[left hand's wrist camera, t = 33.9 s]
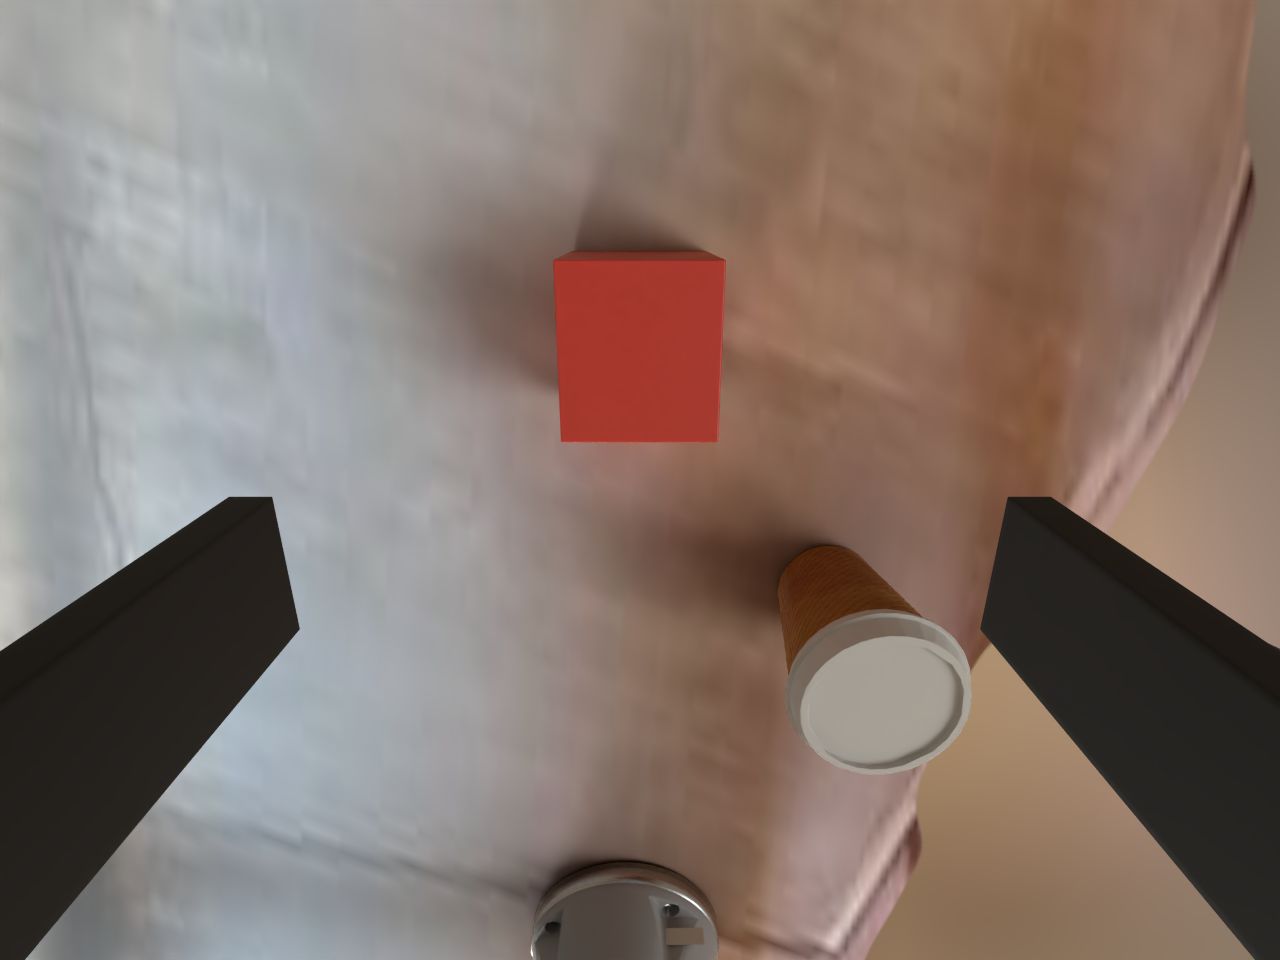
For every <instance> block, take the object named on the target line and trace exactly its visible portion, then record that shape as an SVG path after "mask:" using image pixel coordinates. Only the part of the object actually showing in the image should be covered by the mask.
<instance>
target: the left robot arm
mask: <svg viewBox="0 0 1280 960" xmlns="http://www.w3.org/2000/svg"><path fill="white" fill-rule="evenodd" d="M299 629H300V628H299V623H298V618H297V614H296V609H295V604H294V599H293V595H292V590H291V585H290V580H289V575H288V571H287V566H286V561H285V556H284V551H283V547H282V542H281V537H280V532H279V528H278V523H277V518H276V513H275V508H274V504H273V499H272V497H228V498H227V499H225V500H224V501H222V502H221V503H219V504H218V505H216V506H215V507H213V508H212V509H210V510H209V511H208V512H206V513H205V514H203V515H202V516H200V517H199V518H197V519H196V520H194V521H193V522H191V523H190V524H188V525H187V526H185V527H184V528H182V529H181V530H179V531H178V532H176V533H175V534H173V535H172V536H170V537H169V538H167V539H166V540H164V541H163V542H162V543H160V544H159V545H157V546H156V547H154V548H153V549H151V550H150V551H148V552H147V553H145V554H144V555H142V556H141V557H139V558H138V559H136V560H135V561H133V562H132V563H130V564H129V565H127V566H126V567H124V568H123V569H121V570H120V571H119V572H117V573H116V574H114V575H113V576H111V577H110V578H108V579H107V580H105V581H104V582H102V583H101V584H99V585H98V586H96V587H95V588H93V589H92V590H90V591H89V592H87V593H86V594H84V595H83V596H81V597H80V598H78V599H77V600H76V601H74V602H73V603H71V604H70V605H68V606H67V607H65V608H64V609H62V610H61V611H59V612H58V613H56V614H55V615H53V616H52V617H50V618H49V619H47V620H46V621H44V622H43V623H41V624H40V625H38V626H37V627H35V628H34V629H33V630H31V631H30V632H28V633H27V634H25V635H24V636H22V637H21V638H19V639H18V640H16V641H15V642H13V643H12V644H10V645H9V646H7V647H6V648H4V649H3V650H1V651H0V960H25V959H26V958H27V957H28V955H29V954H30V953H31V952H32V951H33V949H34V948H35V947H36V946H37V945H38V943H39V942H40V941H41V940H42V939H43V937H44V936H45V935H46V934H47V933H48V931H49V930H50V929H51V928H52V927H53V925H54V924H55V923H56V922H57V921H58V919H59V918H60V917H61V916H62V915H63V913H64V912H65V911H66V910H67V908H68V907H69V906H70V905H71V904H72V902H73V901H74V900H75V899H76V898H77V896H78V895H79V894H80V893H81V892H82V890H83V889H84V888H85V887H86V886H87V884H88V883H89V882H90V881H91V880H92V878H93V877H94V876H95V875H96V874H97V872H98V871H99V870H100V869H101V868H102V866H103V865H104V864H105V863H106V862H107V860H108V859H109V858H110V857H111V856H112V854H113V853H114V852H115V851H116V850H117V848H118V847H119V846H120V845H121V844H122V842H123V841H124V840H125V839H126V838H127V836H128V835H129V834H130V833H131V832H132V830H133V829H134V828H135V827H136V825H137V824H138V823H139V822H140V821H141V819H142V818H143V817H144V816H145V815H146V813H147V812H148V811H149V810H150V809H151V807H152V806H153V805H154V804H155V803H156V801H157V800H158V799H159V798H160V797H161V795H162V794H163V793H164V792H165V791H166V789H167V788H168V787H169V786H170V785H171V783H172V782H173V781H174V780H175V779H176V777H177V776H178V775H179V774H180V773H181V771H182V770H183V769H184V768H185V767H186V765H187V764H188V763H189V762H190V761H191V759H192V758H193V757H194V756H195V755H196V753H197V752H198V751H199V750H200V749H201V747H202V746H203V745H204V744H205V742H206V741H207V740H208V739H209V738H210V736H211V735H212V734H213V733H214V732H215V730H216V729H217V728H218V727H219V726H220V724H221V723H222V722H223V721H224V720H225V718H226V717H227V716H228V715H229V714H230V712H231V711H232V710H233V709H234V708H235V706H236V705H237V704H238V703H239V702H240V700H241V699H242V698H243V697H244V696H245V694H246V693H247V692H248V691H249V690H250V688H251V687H252V686H253V685H254V684H255V682H256V681H257V680H258V679H259V678H260V676H261V675H262V674H263V673H264V672H265V670H266V669H267V668H268V667H269V666H270V664H271V663H272V662H273V661H274V659H275V658H276V657H277V656H278V655H279V653H280V652H281V651H282V650H283V649H284V647H285V646H286V645H287V644H288V643H289V641H290V640H291V639H292V638H293V637H294V635H295V634H296V633H297V632H298V631H299ZM980 629H981V631H982V632H983V633H984V634H985V635H986V637H987V638H988V639H989V640H990V641H991V643H992V644H993V645H994V646H995V647H996V649H997V650H998V651H999V652H1000V653H1001V655H1002V656H1003V657H1004V658H1005V659H1006V661H1007V662H1008V663H1009V664H1010V665H1011V667H1012V668H1013V669H1014V670H1015V672H1016V673H1017V674H1018V675H1019V676H1020V678H1021V679H1022V680H1023V681H1024V682H1025V684H1026V685H1027V686H1028V687H1029V688H1030V690H1031V691H1032V692H1033V693H1034V694H1035V696H1036V697H1037V698H1038V699H1039V700H1040V702H1041V703H1042V704H1043V705H1044V706H1045V708H1046V709H1047V710H1048V711H1049V712H1050V714H1051V715H1052V716H1053V717H1054V718H1055V720H1056V721H1057V722H1058V723H1059V724H1060V726H1061V727H1062V728H1063V729H1064V730H1065V732H1066V733H1067V734H1068V735H1069V736H1070V738H1071V739H1072V740H1073V741H1074V742H1075V744H1076V745H1077V746H1078V747H1079V748H1080V750H1081V751H1082V752H1083V753H1084V755H1085V756H1086V757H1087V758H1088V759H1089V760H1090V762H1091V763H1092V764H1093V765H1094V767H1095V768H1096V769H1097V770H1098V771H1099V773H1100V774H1101V775H1102V776H1103V777H1104V779H1105V780H1106V781H1107V782H1108V783H1109V785H1110V786H1111V787H1112V788H1113V789H1114V791H1115V792H1116V793H1117V794H1118V795H1119V797H1120V798H1121V799H1122V800H1123V801H1124V803H1125V804H1126V805H1127V806H1128V807H1129V809H1130V810H1131V811H1132V812H1133V813H1134V815H1135V816H1136V817H1137V818H1138V819H1139V821H1140V822H1141V823H1142V824H1143V825H1144V827H1145V828H1146V829H1147V830H1148V831H1149V833H1150V834H1151V835H1152V836H1153V837H1154V839H1155V840H1156V841H1157V842H1158V844H1159V845H1160V846H1161V847H1162V848H1163V850H1164V851H1165V852H1166V853H1167V854H1168V856H1169V857H1170V858H1171V859H1172V860H1173V862H1174V863H1175V864H1176V865H1177V866H1178V868H1179V869H1180V870H1181V871H1182V872H1183V874H1184V875H1185V876H1186V877H1187V878H1188V880H1189V881H1190V882H1191V883H1192V884H1193V886H1194V887H1195V888H1196V889H1197V890H1198V892H1199V893H1200V894H1201V895H1202V896H1203V898H1204V899H1205V900H1206V901H1207V902H1208V904H1209V905H1210V906H1211V907H1212V908H1213V910H1214V911H1215V912H1216V913H1217V914H1218V916H1219V917H1220V918H1221V919H1222V920H1223V922H1224V923H1225V924H1226V925H1227V927H1228V928H1229V929H1230V930H1231V931H1232V933H1233V934H1234V935H1235V936H1236V937H1237V939H1238V940H1239V941H1240V942H1241V943H1242V945H1243V946H1244V947H1245V948H1246V949H1247V951H1248V952H1249V953H1250V954H1251V955H1252V957H1253V958H1254V959H1255V960H1280V649H1279V648H1277V647H1275V646H1273V645H1270V644H1268V643H1267V642H1265V641H1264V640H1262V639H1261V638H1259V637H1258V636H1256V635H1255V634H1253V633H1252V632H1250V631H1249V630H1247V629H1246V628H1245V627H1243V626H1242V625H1240V624H1238V623H1237V622H1236V621H1234V620H1233V619H1231V618H1230V617H1228V616H1227V615H1225V614H1224V613H1222V612H1221V611H1219V610H1218V609H1216V608H1215V607H1213V606H1212V605H1210V604H1209V603H1207V602H1206V601H1204V600H1203V599H1202V598H1200V597H1199V596H1197V595H1196V594H1194V593H1193V592H1191V591H1190V590H1188V589H1187V588H1185V587H1184V586H1182V585H1181V584H1179V583H1178V582H1176V581H1175V580H1173V579H1172V578H1170V577H1169V576H1167V575H1166V574H1164V573H1163V572H1161V571H1160V570H1159V569H1157V568H1155V567H1154V566H1153V565H1151V564H1150V563H1148V562H1147V561H1145V560H1144V559H1142V558H1141V557H1139V556H1138V555H1136V554H1135V553H1133V552H1132V551H1130V550H1129V549H1127V548H1126V547H1124V546H1123V545H1121V544H1120V543H1118V542H1117V541H1115V540H1114V539H1113V538H1111V537H1110V536H1108V535H1107V534H1105V533H1104V532H1102V531H1101V530H1099V529H1098V528H1096V527H1095V526H1093V525H1092V524H1090V523H1089V522H1087V521H1086V520H1084V519H1083V518H1081V517H1080V516H1078V515H1077V514H1075V513H1074V512H1072V511H1071V510H1070V509H1068V508H1067V507H1065V506H1064V505H1062V504H1061V503H1059V502H1058V501H1056V500H1055V499H1053V498H1052V497H1008V499H1007V504H1006V508H1005V513H1004V518H1003V523H1002V528H1001V532H1000V537H999V542H998V547H997V551H996V556H995V561H994V566H993V571H992V575H991V580H990V585H989V590H988V595H987V599H986V604H985V609H984V614H983V618H982V623H981V628H980ZM718 951H719V942H718V933H717V924H716V917H715V914H714V910H713V908H712V906H711V904H710V902H709V901H708V899H707V897H706V896H705V895H704V894H703V893H702V891H701V890H700V889H698V888H697V887H696V886H695V885H694V884H693V883H691V882H690V881H688V880H687V879H685V878H684V877H682V876H680V875H678V874H676V873H674V872H672V871H669V870H667V869H664V868H661V867H657V866H653V865H648V864H642V863H631V862H619V863H607V864H601V865H596V866H592V867H589V868H586V869H583V870H580V871H578V872H575V873H573V874H571V875H569V876H568V877H566V878H564V879H563V880H561V881H560V882H558V883H557V884H556V885H555V886H553V887H552V888H551V889H550V890H549V891H548V892H547V893H546V895H545V896H544V898H543V899H542V901H541V902H540V904H539V906H538V909H537V911H536V915H535V920H534V926H533V933H532V940H531V952H532V958H533V960H717V957H718Z"/></svg>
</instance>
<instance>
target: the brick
mask: <svg viewBox="0 0 1280 960" xmlns="http://www.w3.org/2000/svg"><path fill="white" fill-rule="evenodd" d="M553 267H554V290H555V313H556V336H557V359H558V382H559V405H560V428H561V442H718V432H719V409H720V386H721V362H722V339H723V316H724V293H725V269H726V261H725V260H724V259H722V258H720V257H717V256H715V255H713V254H711V253H709V252H707V251H572V252H570V253H568V254H566V255H564V256H562V257H560V258H557V259H555V260H554V261H553Z"/></svg>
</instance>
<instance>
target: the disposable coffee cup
mask: <svg viewBox="0 0 1280 960" xmlns="http://www.w3.org/2000/svg"><path fill="white" fill-rule="evenodd" d="M778 598H779V605H780V613H781V620H782V630H783V636H784V644H785V651H786V660H787V668H788V675H789V676H788V678H787V683H786V692H785V704H786V708H787V713H788V717H789V720H790V722H791V724H792V726H793V728H794V729H795V731H796V732H797V734H798V735H799V736H800V738H801V739H802V740H803V741H804V742H805V743H806V744H808V745H809V746H810V747H811V748H813V750H814V751H815V752H816V753H817V754H818V755H819V756H821V757H822V758H823V759H824V760H825V761H827V762H829V763H831V764H832V765H834V766H836V767H838V768H841V769H845V770H848V771H852V772H856V773H859V774H869V775H881V774H892V773H896V772H900V771H904V770H908V769H911V768H914V767H916V766H919V765H921V764H924V763H925V762H927V761H929V760H931V759H932V758H934V757H935V756H937V755H938V754H939V753H941V752H942V751H943V750H945V749H946V748H947V747H948V746H949V745H950V744H951V743H952V742H953V741H954V739H955V738H956V737H957V736H958V735H959V734H960V732H961V730H962V728H963V726H964V724H965V722H966V720H967V719H968V717H969V712H970V706H971V700H972V692H971V687H970V685H971V682H970V667H969V665H968V662H967V659H966V656H965V653H964V651H963V650H962V648H961V647H960V646H959V644H958V643H957V642H956V640H955V639H954V638H953V636H952V635H951V634H949V633H948V632H947V631H945V630H944V629H943V628H941V627H940V626H939V625H937V624H936V623H934V622H933V621H931V620H928V619H925V618H923V617H922V616H921V615H920V614H919V613H918V612H917V611H915V609H914V608H913V607H911V606H910V604H908V603H907V602H906V601H905V600H904V599H903V598H902V597H901V596H900V595H899V594H898V593H897V592H896V591H895V590H894V589H893V588H892V587H891V586H890V585H889V584H888V583H887V582H886V581H885V580H884V579H882V578H881V576H879V575H878V574H877V573H876V572H875V571H874V570H873V569H872V568H871V567H870V566H869V565H868V564H867V563H866V562H865V561H864V560H863V559H862V558H861V557H860V556H859V555H858V554H856V553H854V552H853V551H851V550H849V549H845V548H842V547H837V546H822V547H817V548H813V549H810V550H808V551H805V552H804V553H802V554H800V555H799V556H797V557H796V558H795V559H794V560H793V561H792V562H790V563H789V564H788V566H787V567H786V568H785V570H784V571H783V573H782V575H781V577H780V581H779V585H778Z"/></svg>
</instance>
